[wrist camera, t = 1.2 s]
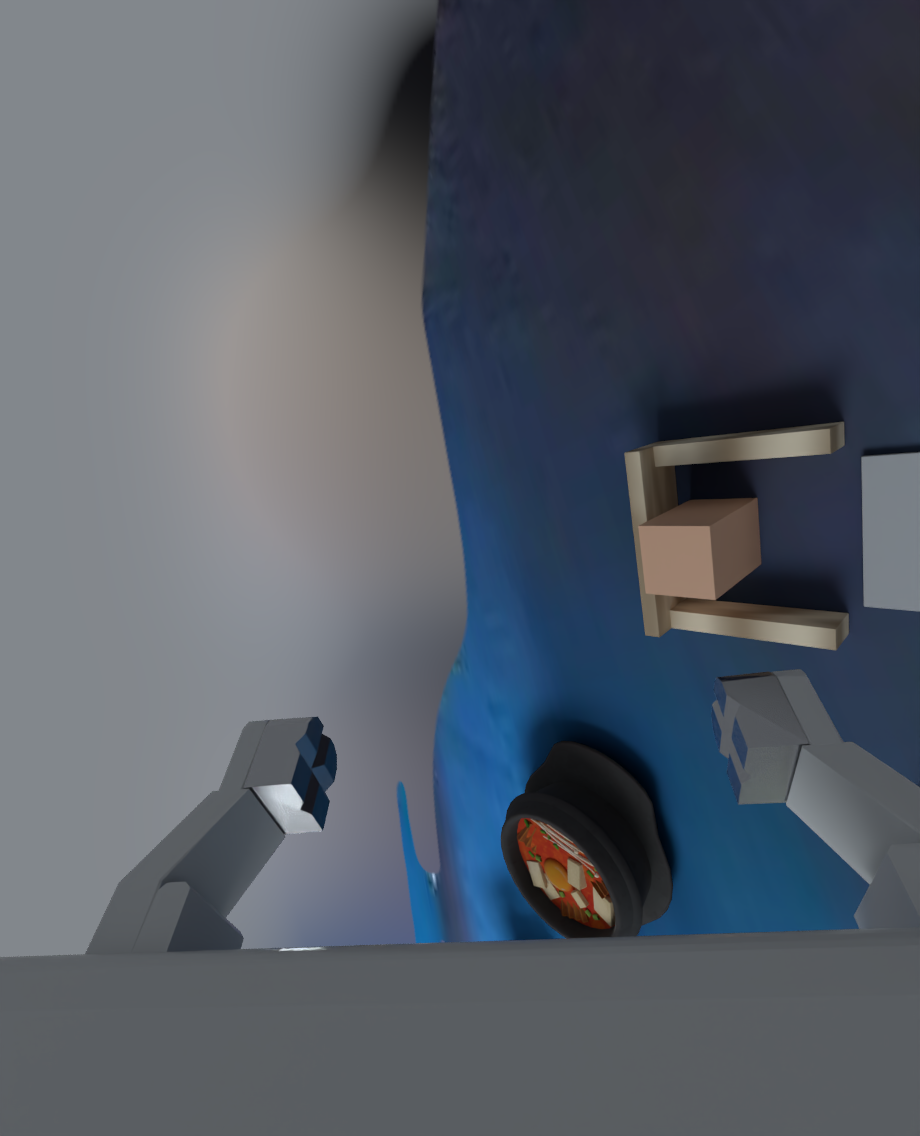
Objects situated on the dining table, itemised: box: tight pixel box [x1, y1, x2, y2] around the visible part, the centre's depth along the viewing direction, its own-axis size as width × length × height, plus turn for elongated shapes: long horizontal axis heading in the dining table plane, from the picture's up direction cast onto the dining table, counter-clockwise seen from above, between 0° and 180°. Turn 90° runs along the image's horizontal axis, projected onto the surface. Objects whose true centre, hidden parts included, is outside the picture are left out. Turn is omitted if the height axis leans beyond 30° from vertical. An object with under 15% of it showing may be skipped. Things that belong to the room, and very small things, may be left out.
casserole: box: [501, 741, 673, 939], centre depth 62 cm, size 25×19×8 cm
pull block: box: [638, 498, 761, 600], centre depth 42 cm, size 5×5×8 cm
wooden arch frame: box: [625, 422, 849, 650], centre depth 42 cm, size 13×14×5 cm
